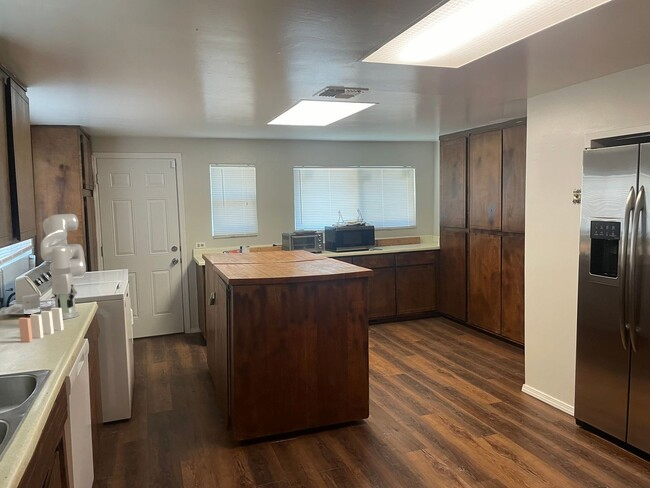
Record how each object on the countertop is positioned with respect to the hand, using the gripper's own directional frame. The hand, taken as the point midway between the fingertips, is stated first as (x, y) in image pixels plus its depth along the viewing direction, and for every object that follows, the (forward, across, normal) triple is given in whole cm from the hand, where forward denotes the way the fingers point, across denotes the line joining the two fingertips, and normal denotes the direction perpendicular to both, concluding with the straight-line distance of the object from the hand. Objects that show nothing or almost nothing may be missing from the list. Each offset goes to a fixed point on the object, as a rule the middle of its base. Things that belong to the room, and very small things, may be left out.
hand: (65, 306), depth 245 cm
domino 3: (+10, 0, -12) cm, 16 cm away
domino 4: (+10, 0, -6) cm, 12 cm away
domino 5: (+3, 0, 0) cm, 3 cm away
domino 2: (+10, 0, -18) cm, 21 cm away
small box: (+10, -44, +21) cm, 50 cm away
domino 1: (+10, 0, -25) cm, 27 cm away
